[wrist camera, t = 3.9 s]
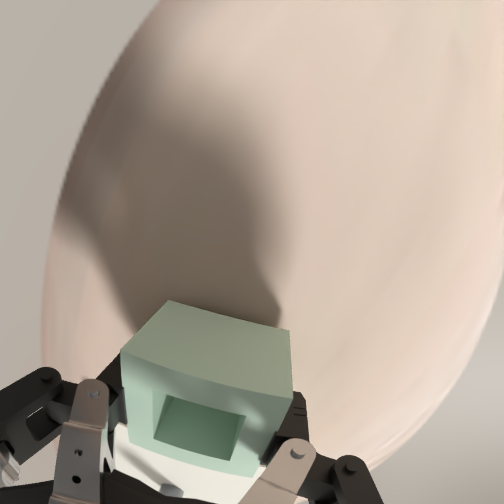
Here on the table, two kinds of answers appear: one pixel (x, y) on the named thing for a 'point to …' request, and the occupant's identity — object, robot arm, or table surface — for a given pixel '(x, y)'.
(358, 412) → the table surface
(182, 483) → the plate
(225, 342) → the collar
